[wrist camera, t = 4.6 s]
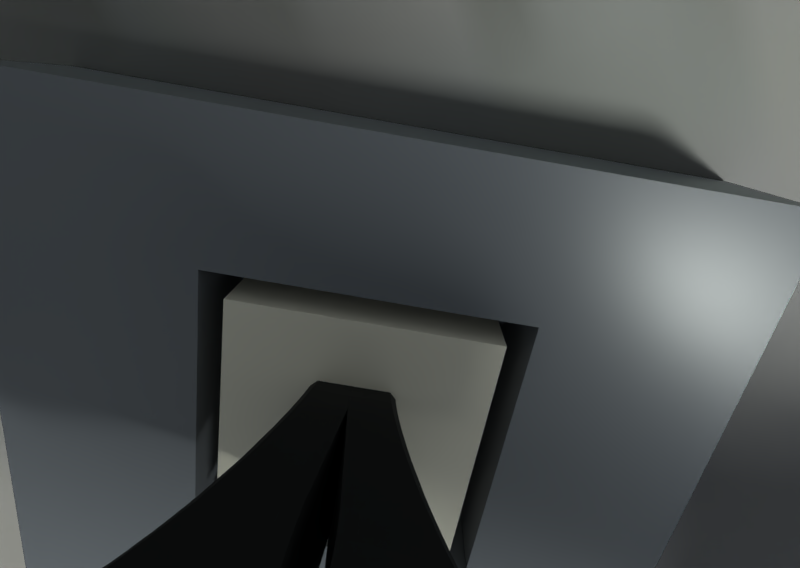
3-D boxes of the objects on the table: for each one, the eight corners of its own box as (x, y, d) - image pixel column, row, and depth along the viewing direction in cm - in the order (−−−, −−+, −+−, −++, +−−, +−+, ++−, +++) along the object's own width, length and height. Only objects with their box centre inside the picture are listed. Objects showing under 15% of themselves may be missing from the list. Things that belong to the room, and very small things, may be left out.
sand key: (490, 297, 9) (506, 346, 8) (445, 474, 11) (449, 551, 9) (263, 258, 9) (223, 299, 7) (251, 442, 11) (215, 513, 9)
